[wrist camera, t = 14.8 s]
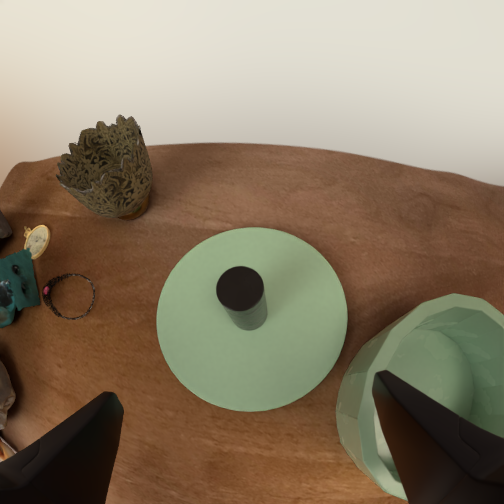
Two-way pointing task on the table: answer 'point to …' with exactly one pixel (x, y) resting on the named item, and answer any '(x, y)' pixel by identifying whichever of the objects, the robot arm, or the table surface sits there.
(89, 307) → the necklace
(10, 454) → the toy
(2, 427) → the stone
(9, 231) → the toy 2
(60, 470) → the robot arm
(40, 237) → the pocket watch
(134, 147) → the cup
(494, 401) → the pot
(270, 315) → the lid
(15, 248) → the table surface
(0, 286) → the figurine
